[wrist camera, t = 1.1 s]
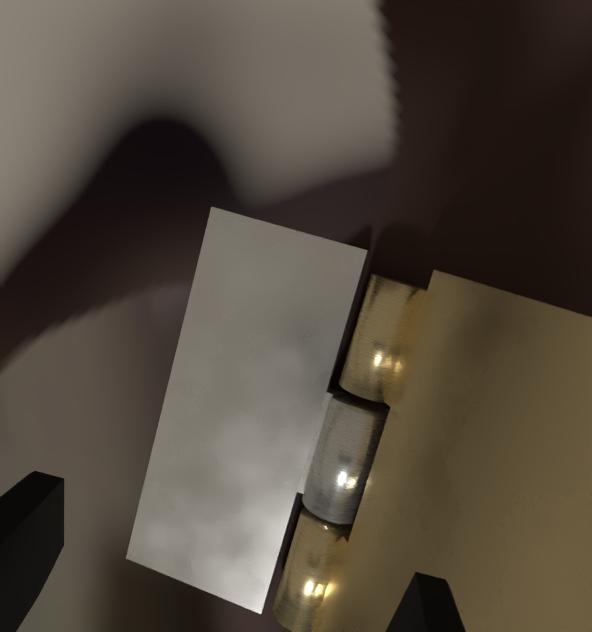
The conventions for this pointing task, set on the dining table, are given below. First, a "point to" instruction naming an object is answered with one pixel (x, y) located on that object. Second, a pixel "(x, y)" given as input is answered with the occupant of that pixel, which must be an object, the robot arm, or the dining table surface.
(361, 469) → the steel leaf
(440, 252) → the dining table surface
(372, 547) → the brass leaf
